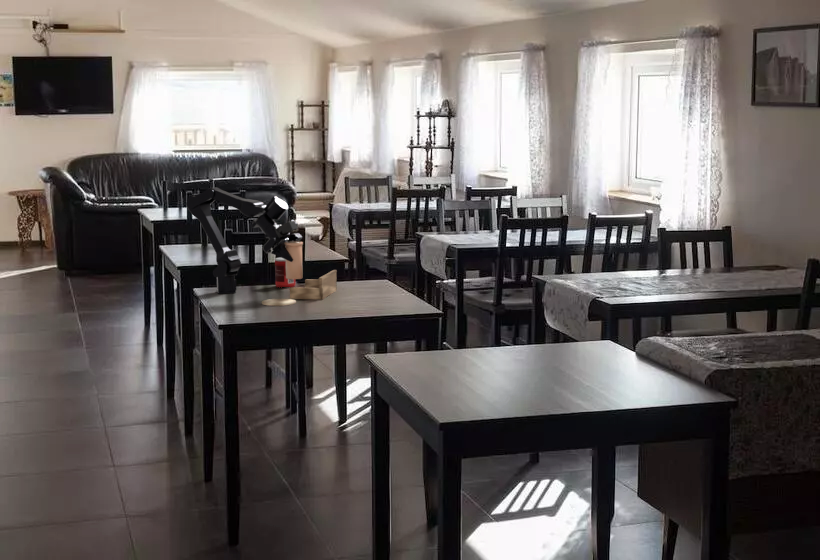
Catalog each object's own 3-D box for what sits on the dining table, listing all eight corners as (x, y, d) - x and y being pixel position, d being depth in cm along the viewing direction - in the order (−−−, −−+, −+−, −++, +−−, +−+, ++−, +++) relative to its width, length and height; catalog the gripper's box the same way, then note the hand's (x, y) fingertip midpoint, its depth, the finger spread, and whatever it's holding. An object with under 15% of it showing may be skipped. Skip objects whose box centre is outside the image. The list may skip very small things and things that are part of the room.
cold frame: (290, 298, 400) (289, 277, 399) (305, 289, 420) (305, 269, 419) (322, 299, 398) (322, 278, 396) (336, 290, 418) (336, 270, 417)
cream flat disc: (265, 306, 383) (265, 305, 383) (259, 301, 394) (259, 299, 394) (299, 304, 387) (299, 303, 386) (292, 299, 398) (292, 297, 398)
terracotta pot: (284, 279, 398) (283, 243, 396) (285, 276, 404) (285, 241, 402) (302, 279, 398) (302, 243, 396) (303, 276, 404) (303, 241, 402)
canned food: (297, 285, 432) (296, 257, 431) (293, 288, 424) (292, 259, 423) (278, 284, 433) (277, 256, 431) (273, 288, 425) (272, 259, 424)
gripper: (269, 215, 391) (296, 247, 388) (297, 211, 408) (323, 242, 404) (251, 236, 395) (278, 268, 392) (279, 231, 412) (305, 262, 409)
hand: (297, 260), depth 399 cm, fingers closed on terracotta pot, 6 cm apart
